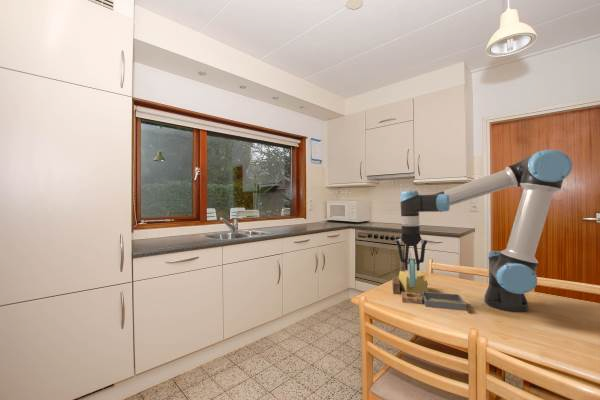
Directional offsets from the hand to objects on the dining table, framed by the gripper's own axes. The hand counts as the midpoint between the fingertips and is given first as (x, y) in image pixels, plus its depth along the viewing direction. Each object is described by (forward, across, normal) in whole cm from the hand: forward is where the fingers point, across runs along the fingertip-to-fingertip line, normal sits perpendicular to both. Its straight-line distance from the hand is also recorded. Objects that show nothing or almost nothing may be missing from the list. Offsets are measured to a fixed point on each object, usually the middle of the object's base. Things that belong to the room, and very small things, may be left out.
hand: (412, 277), depth 122 cm
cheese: (+11, -1, -12) cm, 17 cm away
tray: (+11, -12, +1) cm, 16 cm away
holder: (+11, +1, 0) cm, 11 cm away
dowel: (+4, 0, 0) cm, 4 cm away
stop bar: (+11, +7, -12) cm, 18 cm away
